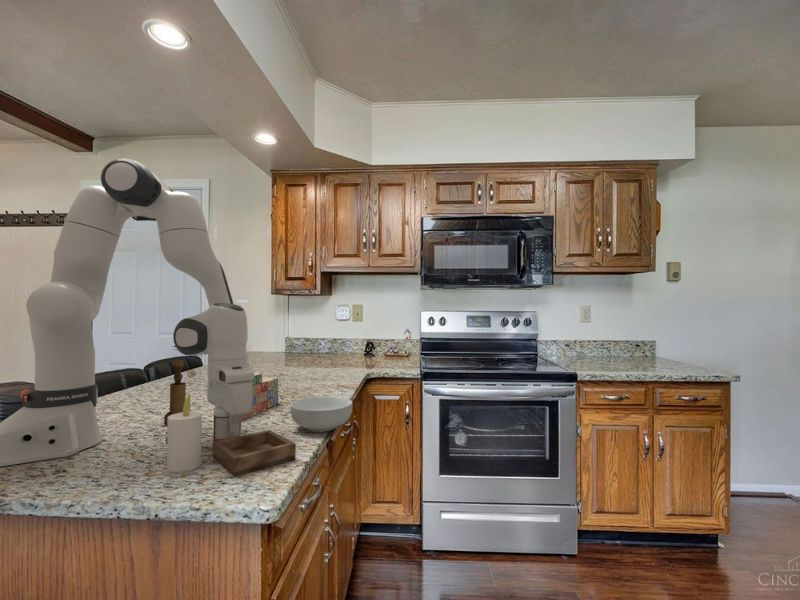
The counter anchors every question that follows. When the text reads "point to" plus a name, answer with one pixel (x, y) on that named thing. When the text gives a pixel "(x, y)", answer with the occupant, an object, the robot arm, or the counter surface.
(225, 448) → the tray
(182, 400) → the brown knobbed cylinder
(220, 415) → the pill bottle
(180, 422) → the candle
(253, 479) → the counter surface
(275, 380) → the stack of blocks
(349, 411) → the cereal bowl
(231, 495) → the counter surface
